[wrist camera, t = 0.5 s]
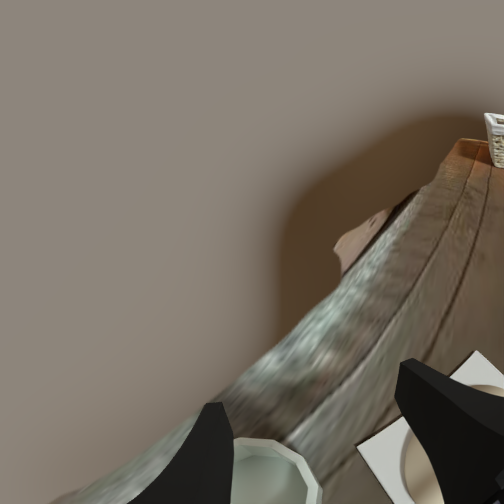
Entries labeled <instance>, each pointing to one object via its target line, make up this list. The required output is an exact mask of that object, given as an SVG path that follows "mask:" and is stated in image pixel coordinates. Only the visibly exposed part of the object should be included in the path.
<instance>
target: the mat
mask: <svg viewBox="0 0 504 504" xmlns="http://www.w3.org/2000/svg"><path fill="white" fill-rule="evenodd" d="M450 378H452V379H454V380H456V381H458V382H460V383H462V384H465V385H467V386H472V385H492V386H497V387H500V388H502V389H504V375H503V374H502V373H500V372H499V371H498V370H497V369H496V368H495V367H494V366H493V365H492V364H491V363H490V362H489V361H488V360H487V359H486V358H485V357H483V356H482V355H481V354H480V353H479V352H478V351H477V350H476V351H475V352H474V354H473V355H472V356H471V357H470V358H469V359H468V360H467V361H466V362H465V363H464V364H463V365H462V366H461V367H460V368H459V369H458V370H457V371H456V372H455V373H454V374H453V375H452V376H451V377H450ZM412 435H413V431H412V430H411V428H410V426H409V425H408V423H407V422H406V420H405V418H404V417H401V418H400V419H399V420H397V421H396V422H394V423H393V424H392V425H390V426H389V427H387V428H386V429H384V430H383V431H381V432H380V433H378V434H377V435H375V436H374V437H372V438H370V439H369V440H367V441H366V442H364V443H362V444H361V445H359V446H357V449H358V451H359V452H360V454H361V455H362V457H363V458H364V460H365V461H366V463H367V464H368V466H369V467H370V469H371V470H372V472H373V473H374V475H375V476H376V478H377V479H378V481H379V482H380V484H381V485H382V487H383V488H384V490H385V491H386V493H387V494H388V496H389V497H390V499H391V500H392V501H393V503H394V504H416V503H415V502H414V501H413V499H412V498H411V496H410V494H409V492H408V489H407V487H406V482H405V476H404V464H405V456H406V451H407V448H408V445H409V442H410V440H411V438H412Z"/></svg>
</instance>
